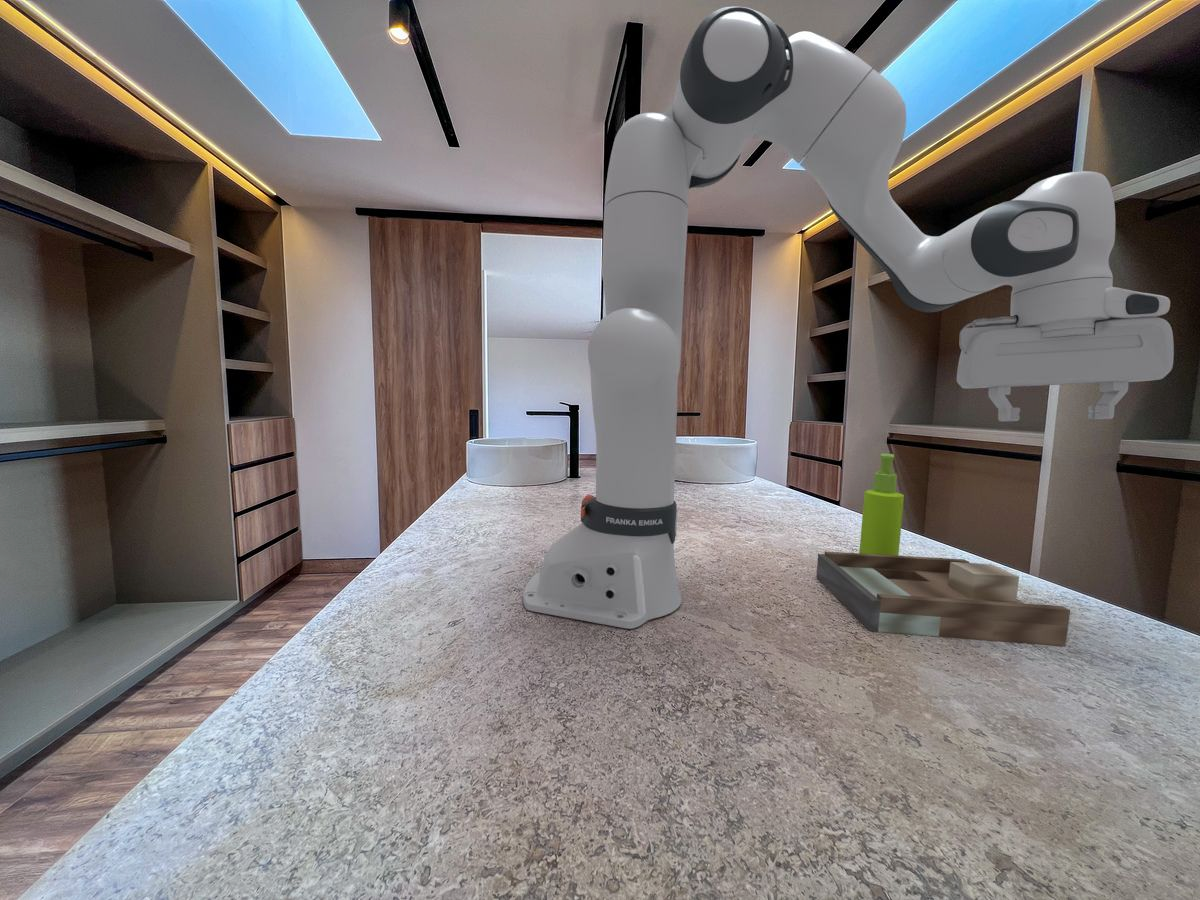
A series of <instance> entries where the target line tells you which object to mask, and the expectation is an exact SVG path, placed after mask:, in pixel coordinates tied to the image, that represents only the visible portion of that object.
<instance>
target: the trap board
mask: <svg viewBox="0 0 1200 900" xmlns="http://www.w3.org/2000/svg"><path fill="white" fill-rule="evenodd" d="M950 562H961V563H970V561H969V560H966V559H964V558H963V559H961V558H948V557H947V558H946V557H932V556H927V557H926V556H913V555H912V556H911V555H898V556H896V555H879V554H862V553H859V552H842V551H841V552H840V551H824V553H823V554H821V553H818V554H817V564H816V565H817V566H816V577H817V578H818V579H819V580H820V581H821V582H820V581H819V580H818V579H817V578H816V577H815V578H816V579H817V580H818V581H819V582H820V583H821V584H822V585H823V586H824V587H825V588H826V589H827V590H828V591H829V592H830V593H831V594H832V595H833V596H834V597H835V598H836V599H837V600H838V601H839V602H840V603H841V604H842V605H843V606H844V607H845V608H846V609H847V610H848V611H849V612H850V613H851V614H852V615H853V616H854V617H855V618H856V619H857V620H858V621H859V622H860V623H861V624H862V625H863V626H864V627H865V629H867V630H868V631H869V632H876V633H889V634H902V635H904V634H905V635H915V636H929V637H941V638H942V637H945V638H954V639H955V638H956V639H969V640H981V641H983V640H984V641H992V642H993V641H995V642H1006V643H1008V642H1009V643H1020V644H1021V643H1022V644H1034V645H1035V644H1036V645H1046V646H1047V645H1048V646H1062V647H1066V645H1067V638H1068V630H1069V624H1070V618H1071V617H1070V615H1071V609H1070V608H1067V607H1066V606H1063V605H1054V604H1053V605H1052V604H1051V605H1050V604H1036V603H1034V604H1033V603H1025V602H1023V601H1021V600H1018V598H1017V599H1016V602H1011V601H996V600H981V599H971V598H969V597H967V596H965V595H964V594H962V593H960V592H959V591H957V590H955V589H954V588H952V587H950V586H949V585H948V580H949V570H950Z"/></svg>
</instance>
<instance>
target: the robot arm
mask: <svg viewBox="0 0 1200 900" xmlns="http://www.w3.org/2000/svg"><path fill="white" fill-rule="evenodd" d="M679 71H680V73H679V79H678V82H677V86H676V89H675V92H674V93H675V94H674V98H673V101H672V104H671V106H669V107H668V108H667V109H666V110H665V111H663V112H661V113H660V112H653V111H652V112H644V113H643V112H642V113H639V114H636V115H634V116H633V117H630V118H628V120H626V121H625V122H624V123H623V124H622V125H621V127H620V128H619V129H618V131H617V133H616V134H615V137H614V141H613V145H612V149H611V153H610V157H609V163H608V168H607V169H608V170H607V177H606V183H605V193H604V209H603V210H604V211H603V233H602V235H603V237H602V259H601V260H602V261H601V262H602V263H601V265H602V266H601V277H602V281H603V291H604V292H603V296H604V305H605V306H604V307H605V317H603V318H602V319H600V321H599V322H598V323H597V325H596V326H595V327H594V329H593V330H592V333H591V335H590V338H589V340H588V347H587V358H588V365H589V373H590V390H591V401H592V404H591V405H592V413H593V423H594V430H595V444H596V449H595V450H596V455H595V457H596V459H595V460H596V461H595V495H593V494H587V495H585V496H584V497H583V499H582V500H581V505H580V524H578V525H577V526H576V527H574V528H573V529H571V530H570V531H568V532H567V533H566V534H565V535H563V536H562V537H560V538H559V539H557V540H556V541H555V542H554V543H552V545H550V546H549V548H548V549H547V551H546V553H545V555H544V557H543V560H542V563H541V568H540V571H539V572H536V573H535V574H534V575H533V576H532V577H531V578H530V579H529V581H528V582H527V583H526V586H525V588H524V590H523V595H522V596H523V597H522V603H523V606H524V608H525V609H526V610H527V611H529V612H536V613H541V614H545V615H550V616H551V615H552V616H556V617H563V618H567V619H572V620H573V619H574V620H577V621H579V620H580V621H584V622H590V623H594V624H600V625H606V626H611V627H618V628H622V629H630V630H631V629H635V628H639V627H640V626H642V625H644V624H645V623H647V622H648V621H650V620H653V619H657V618H660V617H663V616H664V617H665V616H667V615H669V614H672V613H674V611H676V610H678V608H679V607H680V606H681V604H682V601H683V599H682V594H681V591H680V587H679V582H678V577H677V569H676V568H677V567H676V559H675V558H676V557H675V549H674V547H675V544H674V543H675V541H676V537H677V530H678V509H677V508H678V507H677V506H678V505H677V502H676V501H675V481H676V480H675V479H676V478H675V477H676V461H677V460H676V458H677V457H676V454H677V453H676V452H677V426H678V425H677V421H678V417H677V415H678V387H679V386H678V385H679V375H680V370H681V357H682V355H681V353H682V335H683V317H684V316H683V312H684V294H685V293H684V292H685V290H684V289H685V273H686V256H687V254H686V252H687V251H686V250H687V240H688V239H687V237H688V234H687V233H688V218H689V202H690V201H689V200H690V198H689V197H690V192H689V191H690V190H691V189H693V188H705V187H709V186H712V185H714V184H717V183H719V182H720V181H721V180H723V178H725V177H727V175H728V174H729V173H730V172H731V171H732V170H733V168H734V167H735V166H736V164H737V163H738V161H739V159H740V157H741V154H742V152H743V151H744V149H745V147H746V146H747V144H748V142H749V141H750V139H751V138H752V139H753V140H761V141H767V142H770V143H773V144H775V145H777V146H779V147H780V149H782V150H783V151H784V152H785V153H786V154H787V155H788V156H789V157H790V158H791V159H793V160H794V162H796V163H797V164H798V165H799V166H801V168H803V169H804V170H805V171H806V172H807V173H808V174H809V175H810V176H811V177H812V178H813V179H814V180H815V181H816V183H817V184H818V186H819V187H820V188H821V190H822V191H823V193H824V194H825V196H826V198H827V201H828V204H829V205H828V206H829V207H830V209H831V211H832V213H833V214H834V215H835V217H836V218H837V220H838V221H839V222H840V223H841V224H842V226H843V227H844V228H845V229H846V230H847V231H848V232H849V233H850V235H851V236H853V237H854V239H855V240H856V241H857V242H858V243H859V244H860V245H861V246H862V248H864V250H865V251H867V253H868V254H869V255H870V256H871V257H872V258H873V259H874V260H875V261H876V262H877V263H878V265H879V266H880V267H881V268H882V269H883V270H884V272H885V273H886V275H887V276H888V278H889V280H890V281H891V283H892V286H893V288H894V291H896V293H897V295H898V296H899V298H900V300H901V301H902V302H903V303H905V304H906V305H907V306H908V307H909V308H912V309H913V310H916V311H918V312H923V313H935V312H941V311H943V310H946V309H948V308H951V307H952V306H954V305H957V304H958V303H961V302H963V301H966V300H967V299H970V298H973V297H976V296H978V295H981V294H984V293H987V292H990V291H993V290H995V289H996V288H999V287H1003V286H1011V287H1012V290H1011V292H1010V293H1011V294H1010V315H1009V316H1000V317H993V318H985V317H983V318H977V319H973V321H972V322H970V323H968V324H967V323H966V325H964V326H963V327H962V329H961V330H960V331H959V344H958V345H959V348H960V350H961V351H960V355H959V358H958V364H957V371H956V382H957V384H958V385H959V386H960V388H962V389H967V390H968V389H985V388H987V389H988V398H989V399H990V400H991V402H992V403H993V405H994V406H995V407H996V408H997V409H998V412H997V420H998V421H999V422H1018V421H1019V420H1020V419H1021V418H1020V417H1021V416H1020V413H1021V407H1013V406H1012V404H1011V402H1010V401H1009V399H1008V398H1007V396H1009V395H1011V389H1012V388H1011V387H1033V386H1034V387H1035V386H1061V385H1063V386H1064V385H1084V384H1099V392H1100V393H1101V392H1102V393H1103V395H1102V397H1100V399H1099V401H1097V403H1096V405H1087V411H1088V414H1087V418H1088V419H1089V420H1112V419H1113V418H1114V417H1115V407H1116V406H1115V405H1117V404H1118V403H1119V402H1120V401H1121V400H1122V398H1123V397H1124V396H1125V395H1126V394H1127V392H1128V391H1129V383H1134V382H1135V383H1136V382H1149V381H1150V382H1151V381H1158V380H1162V379H1164V378H1165V377H1166V376H1167V375H1168V374H1169V373H1170V372H1171V371H1172V370H1173V366H1174V355H1175V354H1174V353H1175V351H1174V349H1175V348H1174V347H1175V346H1174V345H1175V344H1174V334H1173V330H1172V326H1171V324H1170V323H1169V322H1168V320H1166V319H1164V318H1161V317H1160V316H1162V315H1166V314H1167V313H1168V312H1169V311H1170V307H1171V300H1170V298H1169V297H1167V296H1165V295H1161V294H1154V293H1148V292H1140V291H1135V290H1131V289H1126V288H1122V287H1115V286H1113V284H1114V282H1113V280H1114V277H1113V272H1112V270H1111V268H1110V267H1111V266H1110V262H1109V259H1110V255H1111V252H1112V251H1113V248H1114V246H1115V241H1116V208H1115V207H1116V206H1115V198H1114V195H1113V189H1112V186H1111V183H1110V182H1109V180H1108V178H1107V177H1106V176H1105V175H1104V174H1103V173H1100V172H1096V171H1089V170H1086V171H1085V170H1080V171H1070V172H1065V173H1060V174H1057V175H1052V176H1049V177H1047V178H1044V179H1041V180H1039V181H1037V182H1036V183H1034V184H1032V185H1031V186H1029V187H1028V188H1027V189H1026V190H1025V191H1024V192H1022V193H1021V194H1020V195H1018V196H1015V198H1013V199H1011V200H1008V201H1003V202H1001V203H999V204H996V205H993V206H991V207H988V208H986V209H984V210H982V211H981V212H979V213H977V214H975V215H974V216H972V217H970V218H968V219H966V220H965V221H963V222H962V223H960V224H959V225H957V226H956V227H954V228H952V229H950V230H948V231H946V232H945V233H943V234H941V235H939V236H935V235H934V236H933V235H932V236H931V235H928V234H925V233H924V232H922V231H921V229H919V227H918V226H917V225H916V224H915V223H914V222H913V220H912V219H910V217H909V216H908V215H907V214H906V213H905V212H904V211H903V210H902V209H901V207H900V206H899V204H897V202H896V201H894V199H893V197H892V195H891V192H890V188H889V181H890V180H889V178H890V174H891V170H892V167H893V165H894V163H895V160H896V158H897V157H898V154H899V152H900V149H901V147H902V144H903V142H904V137H905V133H906V127H907V105H906V103H905V101H904V100H903V97H902V96H901V94H900V93H899V90H897V88H896V87H895V86H894V85H893V84H892V82H890V81H889V79H887V78H885V76H883V75H882V74H880V73H879V72H878V71H877V70H876V69H875V68H874V69H873V67H872V66H870V65H869V64H868V63H867V62H865V61H864V60H863V59H862V58H860V57H859V56H858V55H856V54H854V53H853V52H852V51H849V50H848V49H846V48H845V47H843V46H842V45H840V44H838V43H836V42H835V41H833V40H830V39H828V38H826V37H825V36H822V35H819V34H817V33H814V32H812V31H808V30H807V31H806V30H804V31H803V30H802V31H798V32H796V33H793V34H792V35H790V36H789V37H788V35H787V34H786V31H785V30H784V28H782V26H781V25H779V24H777V23H774V22H773V21H772V20H771V18H769V17H768V16H766V15H765V14H763V13H762V12H760V11H759V10H758V11H757V10H755V9H752V8H749V7H745V6H744V7H743V6H733V5H732V6H726V7H722V8H719V9H717V10H715V11H713V12H711V13H710V14H708V15H707V16H706V17H705V18H704V19H703V20H702V21H701V23H700V24H699V25H698V27H697V28H696V30H695V32H694V33H693V35H692V37H691V38H690V40H689V43H688V45H687V48H686V50H685V52H684V55H683V56H682V61H681V65H680V70H679ZM1006 395H1007V396H1006Z"/></svg>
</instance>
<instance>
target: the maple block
mask: <svg viewBox="0 0 1200 900" xmlns="http://www.w3.org/2000/svg"><path fill="white" fill-rule="evenodd" d="M1019 581H1020V576H1019V575H1016V574H1014V573H1012V572H1010V571H1008V570H1006V569H1003V568H1001V567H998V566H997V565H994V564H992V563H979V562H978V563H977V562H976V563H974V562H969V563H961V562H950V570H949V580H948V585H949V586H950V587H952V588H954V589H955V590H957V591H959V592H960V593H962V594H964V595H965V596H967V597H969V598H971V599H981V600H996V601H1011V602H1016V599H1017V600H1018V598H1017V597H1018V590H1019V589H1018V588H1019Z"/></svg>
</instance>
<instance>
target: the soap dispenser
mask: <svg viewBox="0 0 1200 900" xmlns="http://www.w3.org/2000/svg"><path fill="white" fill-rule="evenodd" d="M879 455H880V459H881V461H880V470H878V471H876V472H874V473H873V475H874V476H873V485H872V489H867V490H864V492H863V493H864V494H863V495H864V496H863V497H864V498H863V503H862V504H863V506H862V515H861V529H860V530H861V531H860V539H859V540H860V542H859V552H858V553H862V554H879V555H896V556H900V555H899V554H900V553H899V552H900V544H901V535H902V534H901V533H902V532H901V531H902V523H903V512H904V502H905V501H904V500H905V495H904V494H903V493H900V492H897V485H898V483H897V481H898V474H897V473H895V472H894V471H893V464H894V460H895V454H893V453H880V454H879Z"/></svg>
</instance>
